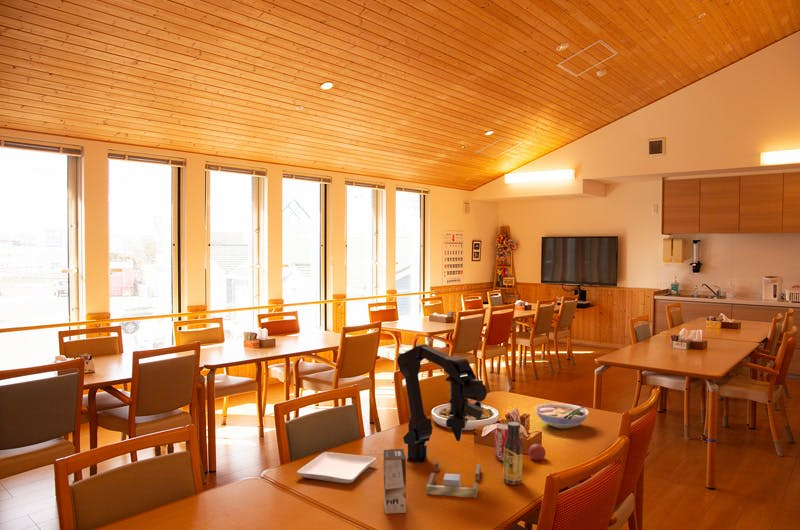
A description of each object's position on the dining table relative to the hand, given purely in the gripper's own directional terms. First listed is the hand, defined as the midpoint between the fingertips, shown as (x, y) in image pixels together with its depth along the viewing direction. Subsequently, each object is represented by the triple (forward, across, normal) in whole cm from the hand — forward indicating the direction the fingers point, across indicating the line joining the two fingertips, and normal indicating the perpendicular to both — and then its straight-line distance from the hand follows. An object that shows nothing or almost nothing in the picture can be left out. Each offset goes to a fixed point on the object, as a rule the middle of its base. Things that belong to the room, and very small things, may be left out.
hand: (458, 440), depth 197 cm
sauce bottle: (+12, -3, -19) cm, 22 cm away
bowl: (+13, +62, +4) cm, 64 cm away
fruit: (+12, +20, -26) cm, 35 cm away
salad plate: (+13, -7, +41) cm, 44 cm away
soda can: (+12, +19, -15) cm, 27 cm away
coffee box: (+12, -29, +16) cm, 35 cm away
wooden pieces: (+12, -6, 0) cm, 13 cm away
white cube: (+12, -14, 0) cm, 18 cm away
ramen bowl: (+12, +64, -38) cm, 75 cm away
